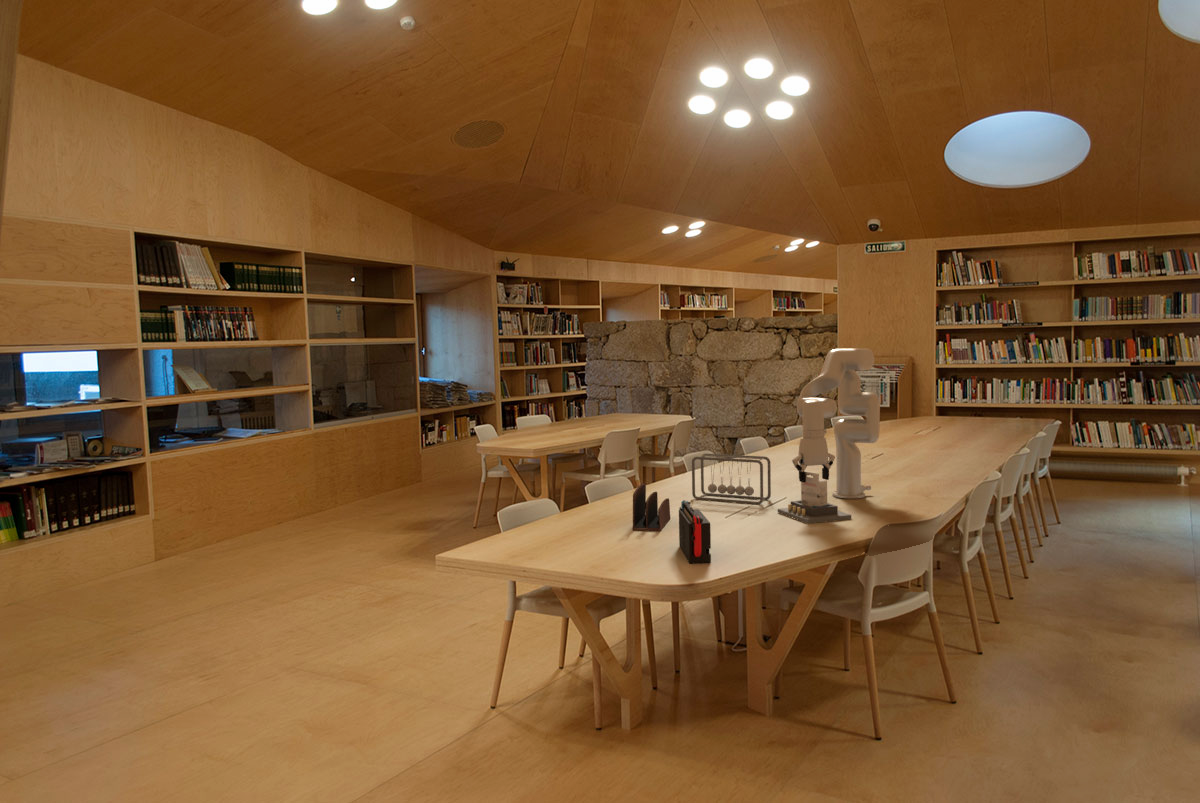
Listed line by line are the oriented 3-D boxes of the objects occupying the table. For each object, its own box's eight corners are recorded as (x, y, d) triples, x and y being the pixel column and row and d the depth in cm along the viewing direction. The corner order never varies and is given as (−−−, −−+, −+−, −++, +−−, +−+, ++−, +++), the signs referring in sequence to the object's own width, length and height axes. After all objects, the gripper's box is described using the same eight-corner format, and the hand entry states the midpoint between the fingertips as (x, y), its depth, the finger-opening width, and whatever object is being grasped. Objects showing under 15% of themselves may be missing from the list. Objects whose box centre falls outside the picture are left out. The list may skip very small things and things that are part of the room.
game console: (677, 543, 262) (676, 499, 261) (697, 542, 262) (696, 498, 261) (691, 568, 234) (690, 518, 233) (713, 567, 234) (712, 517, 233)
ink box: (828, 512, 295) (828, 472, 294) (819, 514, 292) (819, 474, 291) (809, 508, 302) (809, 469, 300) (800, 510, 299) (800, 471, 297)
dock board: (819, 508, 309) (819, 496, 308) (851, 518, 290) (851, 506, 290) (777, 512, 303) (777, 500, 303) (807, 523, 284) (807, 511, 284)
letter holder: (632, 531, 281) (631, 490, 280) (644, 518, 300) (643, 480, 299) (660, 532, 279) (659, 491, 278) (670, 519, 298) (669, 481, 297)
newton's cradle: (691, 499, 332) (691, 456, 331) (701, 494, 342) (701, 453, 340) (762, 505, 318) (762, 460, 316) (771, 500, 327) (770, 456, 325)
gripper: (827, 431, 301) (828, 476, 302) (787, 434, 295) (787, 481, 297) (840, 433, 294) (840, 480, 295) (798, 437, 288) (799, 484, 290)
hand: (814, 480), depth 296 cm, fingers open, 9 cm apart
